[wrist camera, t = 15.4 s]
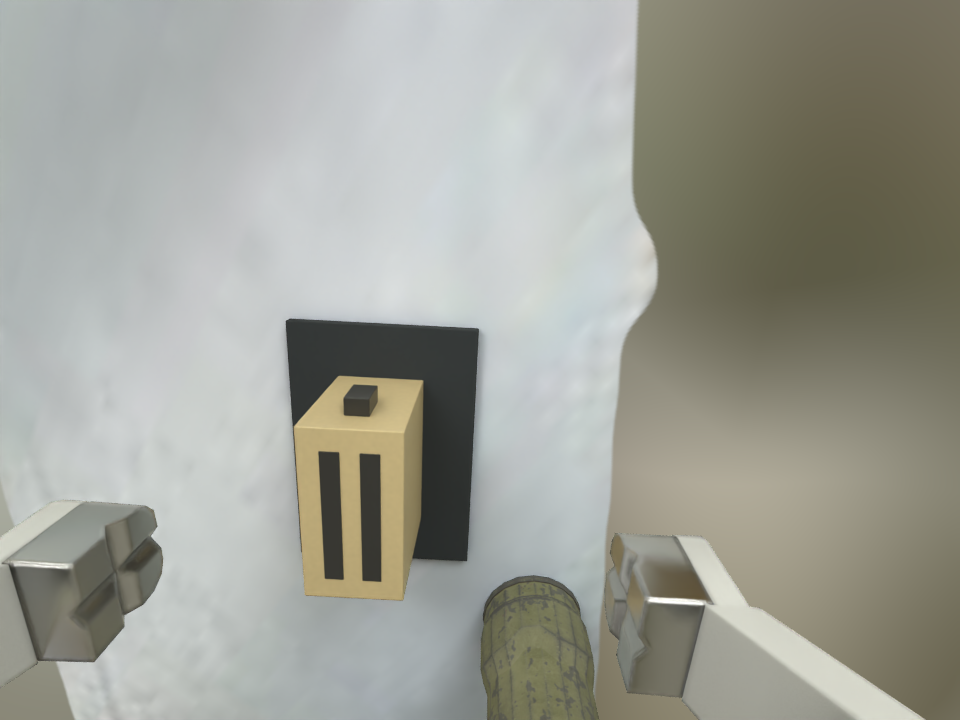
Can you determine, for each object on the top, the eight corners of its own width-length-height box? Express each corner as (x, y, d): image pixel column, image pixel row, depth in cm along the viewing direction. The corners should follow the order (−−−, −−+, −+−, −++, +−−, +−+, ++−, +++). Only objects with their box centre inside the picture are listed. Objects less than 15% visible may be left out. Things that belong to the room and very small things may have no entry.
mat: (289, 318, 37) (285, 320, 36) (478, 328, 37) (478, 330, 36) (304, 546, 43) (301, 552, 42) (467, 554, 43) (466, 561, 42)
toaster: (421, 517, 41) (403, 602, 32) (343, 513, 41) (303, 597, 32) (423, 364, 37) (404, 413, 28) (337, 360, 37) (291, 407, 28)
